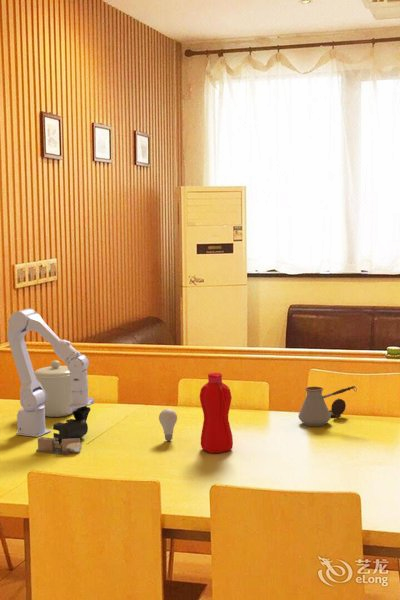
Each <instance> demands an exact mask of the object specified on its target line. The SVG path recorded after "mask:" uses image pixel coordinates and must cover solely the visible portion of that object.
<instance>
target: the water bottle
mask: <svg viewBox="0 0 400 600" xmlns="http://www.w3.org/2000/svg"><path fill="white" fill-rule="evenodd" d="M207 378H208V379H207V380H208V382H207V383H205V384H204V385H203V386H202V387H201V388H200V393H199V402H200V405H201V409H202V414H203V422H202V428H201V434H200V446H201V448H202V450H203V451H206V452H207V453H210V454H219V453H220V454H221V453H225V452H230V451H231V450H232V449H233V446H234V441H233V433H232V428H231V426H230V425H231V424H230V422H229V412H230V409H231V408H230V407H231V403H232V398H233V397H232V393H231V389H230V387H229V386H228V385H227V384H226V383H224V382H223V374H222V373H221V372H209V373H208V377H207Z"/></svg>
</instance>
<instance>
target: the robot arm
mask: <svg viewBox="0 0 400 600" xmlns="http://www.w3.org/2000/svg"><path fill="white" fill-rule="evenodd" d="M7 322H8V327H7V333H6V334H7V335H6V338H7V342H8V344H9V347H10V351H11V354H12V358H13V361H14V365H15V368H16V371H17V375H18V378H19V381H20V384H21V386H20V389H19V396H20V398H19V403H20V406H21V408H20V409H18V411H17V414H16V425H17V432H16V435H17V436H18V435H19V436H27V437H34V438H35V437H37V438H40V437H42V436H43V435H46V434H48V433H51V431H52V430H51V429H47V427H46V416H45V406H44V403H45V402H46V400H47V393H46V391H45V390H44V389H43V388H42V385H41V383H40V382H39V381H37V380H36V376H35V373H34V372H35V371H34V367H33V363H32V361H31V358H30V354H29V350H28V347H27V344H26V341H25V336H26V335H27V332H28V331H31V332H36V333H37V334H39V336H41V337H42V338H43V339H44V340H45V341H47V342H48V343H49V344H50V345H51V346H52V348H53V353H54V354H56V356H57V357H59V358H60V359H61V361H63V362H64V363H65V364H66V366H67V368H68V370H69V371H70V373H71V392H72V403H71V404H70V405H69V406H68V407H66V413H72V414H71V415H72V417H74V418H73V419H75V420H76V419H80V418H82V419H84V420H85V421H86V422H87V418H88V416H89V413H90V412H91V407H90V406H91V405H94V404H95V398H94V397H89V382H88V381H89V378H88V368H89V366H90V360H89V358H88V357H87V355H85V354H83V353H81V352H80V351H78V350H76V348H75V347H74V346H72V345H71V344H72V343H71V341H70V340H66V339H60V337H59V336H58V335H57V334H56V333H55V332H54V330H53V329H51V327H49V325H48V324H47V323H46V321H44V319H43V318H42V317H41V315H40V314H39V313H37V311H36V310H34V309H33V308H30V307H29V308H28V307H27V308H25V309H21V310H19V311H18V310H17V311H16V310H15V311H14V312H12V313H11V315H10V316H9V317H8V319H7Z"/></svg>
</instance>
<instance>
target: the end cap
mask: <svg viewBox="0 0 400 600" xmlns="http://www.w3.org/2000/svg"><path fill="white" fill-rule="evenodd" d="M88 426H89V425H88V422H87V420H86V421H85V420H84V419H82V418H80V419H76V420H75V418H69V419H66V420H65V422H59V421H58V422H56V423H54V424H53V425H52V428H53V429H52V430H54V431H58V433H55V432H54V433H52V434H53V438H57V439H58V441H59V444H61V443H62V439H72V438H80V439H82V438H83V437H84V436H85V435H87V434H88V431H89V427H88Z"/></svg>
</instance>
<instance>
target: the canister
mask: <svg viewBox="0 0 400 600" xmlns="http://www.w3.org/2000/svg"><path fill="white" fill-rule="evenodd" d="M67 366H68V365H61V362H60V361H59V360H52V361H51V362H50V366H46V367H40V368H38V369H36V370H35V371H34V373H35V376H36V380H37V381H39V382H40V383H41V385H42V388H43V389H44V390H45V391H46V393H47V400H46V402H45V403H44V406H45V417H49V418H60V417H66V416H69V415H73V414H72V413H66V407H68V406H69V405H70V404H71V403H72V392H71V373H70V371H69V370H68V368H67Z"/></svg>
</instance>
